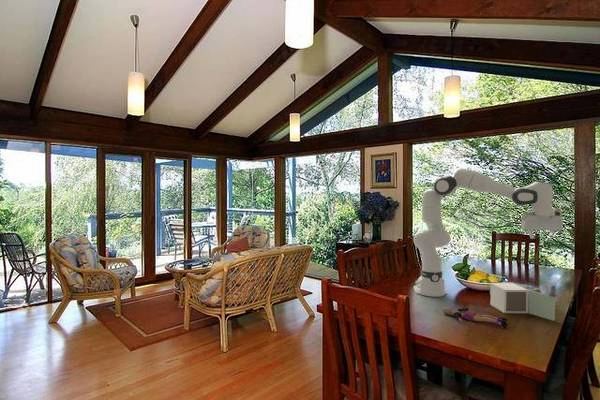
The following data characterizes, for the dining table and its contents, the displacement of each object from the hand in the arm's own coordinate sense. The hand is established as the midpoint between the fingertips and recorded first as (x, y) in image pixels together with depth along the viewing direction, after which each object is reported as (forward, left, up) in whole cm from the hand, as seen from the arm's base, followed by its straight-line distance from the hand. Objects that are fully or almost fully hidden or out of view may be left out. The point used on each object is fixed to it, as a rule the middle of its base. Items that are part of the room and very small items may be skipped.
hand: (541, 238), depth 183 cm
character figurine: (+16, -43, -38) cm, 60 cm away
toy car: (-14, -5, -38) cm, 41 cm away
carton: (-1, -16, -38) cm, 41 cm away
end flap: (+12, -7, -37) cm, 40 cm away
